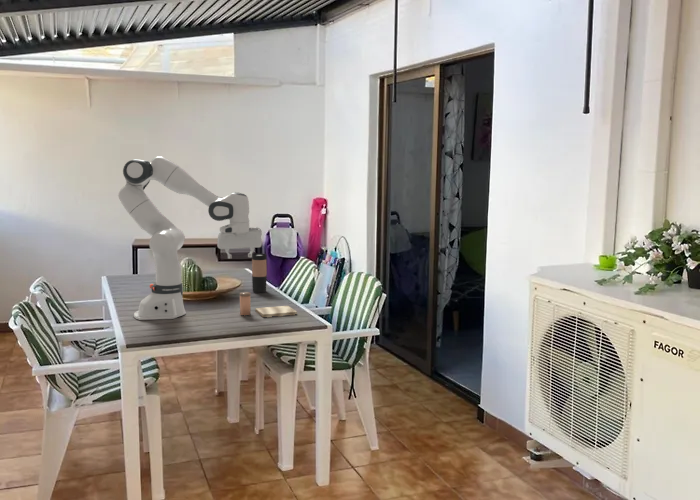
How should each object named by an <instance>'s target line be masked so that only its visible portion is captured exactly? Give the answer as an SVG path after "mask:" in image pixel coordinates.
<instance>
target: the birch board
mask: <svg viewBox="0 0 700 500" xmlns="http://www.w3.org/2000/svg"><path fill="white" fill-rule="evenodd" d="M255 312H256V313H257V314H258V315H259V316H260V315H261V316H260V317H262V318H263V317H267V318H273V317H272V316H278V317H284V316H283V315H290V316H296V315H295V314H297V315H298V311H297V310H296V309H294V308H292V307H291V306H290V305H278V306H277V305H276V306H268V307H267V306H266V307H256V308H255Z"/></svg>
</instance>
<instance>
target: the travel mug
mask: <svg viewBox="0 0 700 500" xmlns="http://www.w3.org/2000/svg"><path fill="white" fill-rule="evenodd" d="M251 258H252V259H251V283H252V285H251V286H252V292H253V294H254V293H256V294H262V293H267V254H266V253H252V257H251Z"/></svg>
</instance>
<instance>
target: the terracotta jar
mask: <svg viewBox="0 0 700 500" xmlns="http://www.w3.org/2000/svg"><path fill="white" fill-rule="evenodd" d="M251 295H252V293H251V292H249V291H242V292H239V315H240V316H241V315H244V316H243V317H246V316H245V315H249V316H251V315H250V314H252V313H251V301H252V300H251V297H252V296H251Z"/></svg>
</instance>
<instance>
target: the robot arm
mask: <svg viewBox="0 0 700 500" xmlns="http://www.w3.org/2000/svg"><path fill="white" fill-rule="evenodd" d="M122 174H123V177H124V178H125V185H124V186H123V187H122V188H121V189H120V190H119V192H118V195H117V196H118V199H119V200H120V203H121V204H122V206H123V208H124V209H125V211H126V212H127V213H128V214H129V216H130V217H131V219H133V220H134V222H135V223H136V224H137V225H138V227H139V228H140V229H142V230H143V231H144V232H146V233H147V234H149V235H150V236H151V238H150V239H149V241H148V242H149V243H148V245H149V246H148V247H149V249H150V250H151V252H152V256H153V260H154V267H155V283H150V284H149V289H150V290H151V292H150V293H149V294H148V295H147V296H145V297H144V298H143V299H141V300H140V302H139V305H138V306H139V307H138V310H137V311H135V312H134V313H133V317H134V319H136V320H138V321H139V320H140V321H145V320H146V321H147V320H172V319H176V318H178V317H181V316H184V315H186V313H187V312H186V309H185V306H184V299H183V293H184V290H183V288H184V287H183V282H182V265H181V264H180V260H179V254H178V251H180V249H181V248H182V247H183V246H184V243H185V241H186V236H185V234H184V232H183V230H181V229H180V228H178V227H177V226H176V225H175V224H174V223H173V222H171V221H170V220H169V219H168V218H167V217H166V216H165V215H164V214H163V213H162V212H161V211H160V209H158V207H157V206H156V205H155V204H154V203H153V201H152V200H151V199H150V198H149V196H148V195H147V194H146V193H145V191H144V190H145V189H146V187H148V185H149V183H150V182H151V180H152V181H153V180H154V181H157V182H158V183H160V184H162V185H163V186H164V187H166V188H167V189H168V190H171V191H172V192H174V193H176V194H179V195H180V194H181V195H187V196H191V197H192V198H195V199H196V200H198V201H199V202H200V203H202V204H203V205H205V206H207V207H208V209H207V210H208V214H209V217H210V218H211V219H212V220H214V221H218V222H222V221H226V220H229V224H226V225H223V226H220V227H219V233H218V235H217V241H216V242H217V243H216V244H217V248H218V249H219V250H224V251H225V253H226V254H227V259H232V258H233V257H232V254H231V253H230V249H232V250H233V249H249V250H250V251H249V253H247V258H252V255H253V254H254V251H255V248H261V247H262V245H263V244H262V243H263V242H262V233H263V232H262V231H263V230H262V229H261V228H260V227H258V226H257V227H250V219H249V214H250V203H249V197H248V196H247V194H245V193H242V192H236V191H232V192H231V193H230V194H228V195H226V196H224V197H221V196H218V195H216V194H214V193H212V191H210V190H208V189H207V188H205V187H204V186H202V185H201V184H200V183H199V182H197V181H196V180H195V179H194V178H193V177H192V175H191V174H190V173H188V172H187V171H186V170H185V169H184V168H183V167H181V166H180V165H178V164H177V163H175V162H174V161H172V160H170V159H168V158H166V157H164V156H160V155H159V156H155V157H153V159H151V160H150V161H149V160H143V159H130V160H129V161H127V162H126V163H125V164H124V166H123V168H122Z"/></svg>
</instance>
